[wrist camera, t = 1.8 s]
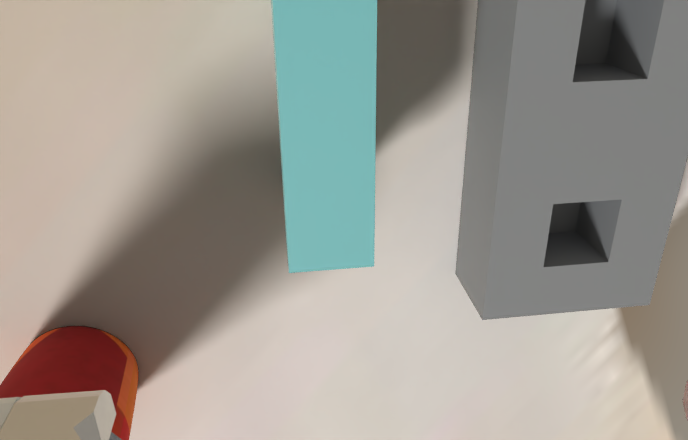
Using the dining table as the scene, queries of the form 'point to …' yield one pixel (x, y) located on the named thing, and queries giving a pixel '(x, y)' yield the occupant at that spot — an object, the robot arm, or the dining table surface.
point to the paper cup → (78, 370)
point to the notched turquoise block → (327, 130)
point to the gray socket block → (572, 153)
